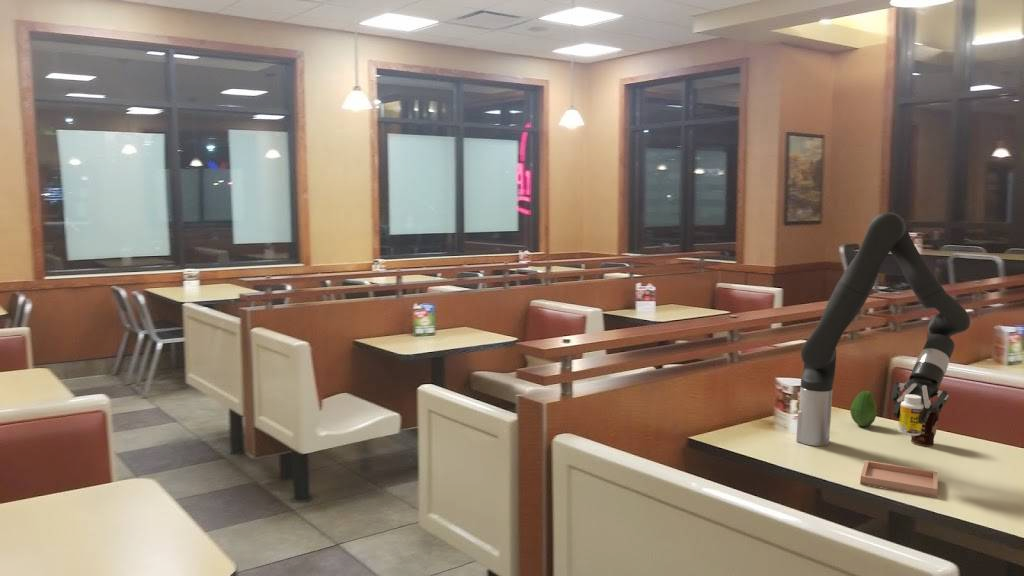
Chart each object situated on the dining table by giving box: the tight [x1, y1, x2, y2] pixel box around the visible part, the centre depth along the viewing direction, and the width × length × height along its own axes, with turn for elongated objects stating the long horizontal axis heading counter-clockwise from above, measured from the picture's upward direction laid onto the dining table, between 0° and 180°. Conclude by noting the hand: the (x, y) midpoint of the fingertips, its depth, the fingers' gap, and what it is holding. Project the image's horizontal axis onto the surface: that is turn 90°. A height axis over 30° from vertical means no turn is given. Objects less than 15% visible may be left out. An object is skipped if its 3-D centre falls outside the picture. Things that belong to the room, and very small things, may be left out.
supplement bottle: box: [898, 394, 924, 437], centre depth 205 cm, size 6×6×10 cm
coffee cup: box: [910, 400, 942, 447], centre depth 238 cm, size 9×8×13 cm
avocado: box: [850, 390, 878, 427], centre depth 256 cm, size 8×8×12 cm
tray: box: [859, 459, 939, 498], centre depth 207 cm, size 18×14×2 cm
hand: (908, 419), depth 204 cm, fingers closed on supplement bottle, 5 cm apart
